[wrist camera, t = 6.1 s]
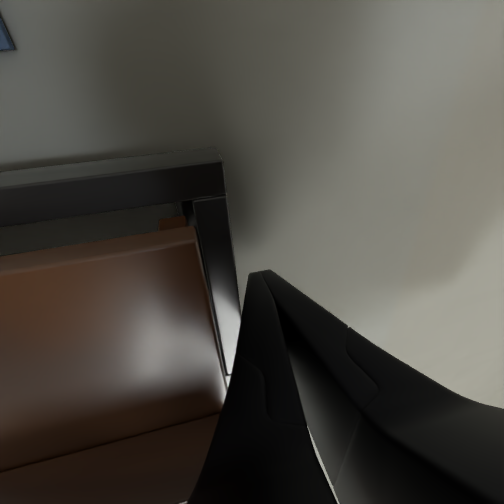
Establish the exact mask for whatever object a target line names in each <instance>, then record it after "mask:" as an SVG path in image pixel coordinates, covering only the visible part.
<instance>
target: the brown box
mask: <svg viewBox="0 0 504 504" xmlns="http://www.w3.org/2000/svg"><path fill="white" fill-rule="evenodd" d="M226 194H227V189H226V181H225V172H224V164H223V160H222V158H221V156H220V154H219V152H218V150H217V148H216V147H212V148H203V149H194V150H186V151H177V152H169V153H160V154H151V155H143V156H134V157H125V158H117V159H108V160H100V161H91V162H82V163H74V164H65V165H57V166H48V167H39V168H31V169H22V170H14V171H5V172H0V227H7V226H14V225H21V224H28V223H35V222H42V221H49V220H56V219H62V218H69V217H76V216H83V215H90V214H97V213H104V212H111V211H118V210H125V209H132V208H139V207H145V206H152V205H159V204H166V203H173V202H175V204H176V208H177V212H178V216H177V217H171V218H164V219H160V220H159V225H158V231H156V232H150V233H143V234H137V235H131V236H124V237H118V238H112V239H106V240H99V241H93V242H87V243H81V244H74V245H68V246H62V247H55V248H49V249H43V250H37V251H30V252H24V253H18V254H12V255H5V256H0V504H186V503H187V501H188V499H189V498H190V496H191V494H192V492H193V490H194V487H195V485H196V483H197V480H198V478H199V475H200V473H201V470H202V467H203V465H204V462H205V459H206V456H207V453H208V450H209V447H210V444H211V441H212V438H213V434H214V431H215V428H216V425H217V422H218V419H219V416H220V413H221V410H222V406H223V403H224V400H225V396H226V393H227V389H228V386H229V382H230V377H231V372H232V367H233V362H234V356H235V354H236V353H235V352H236V346H237V340H238V334H239V328H240V323H241V310H240V301H239V293H238V284H237V276H236V267H235V259H234V250H233V241H232V233H231V224H230V216H229V207H228V199H227V195H226Z"/></svg>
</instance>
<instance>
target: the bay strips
mask: <svg viewBox="0 0 504 504" xmlns="http://www.w3.org/2000/svg"><path fill="white" fill-rule="evenodd" d="M4 50H14V46H13V44H12V42H11V40H10V37H9V35H8V33H7V31H6V28H5V26H4V24H3V22H2V20H1V17H0V51H4Z"/></svg>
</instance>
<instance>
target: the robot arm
mask: <svg viewBox="0 0 504 504" xmlns="http://www.w3.org/2000/svg"><path fill="white" fill-rule="evenodd" d="M235 353H236V354H235V356H234V362H233V367H232V372H231V377H230V382H229V386H228V389H227V393H226V396H225V400H224V403H223V406H222V410H221V413H220V416H219V419H218V422H217V425H216V428H215V431H214V434H213V438H212V441H211V444H210V447H209V450H208V453H207V456H206V459H205V462H204V465H203V467H202V470H201V473H200V475H199V478H198V480H197V483H196V485H195V487H194V490H193V492H192V494H191V496H190V498H189V499H188V501H187V503H186V504H337V501H336V499H335V497H334V495H333V492H332V490H331V488H330V486H329V483H328V481H327V479H326V477H325V474H324V472H323V470H322V468H321V465H320V463H319V461H318V458H317V456H316V453H315V450H314V447H313V444H312V441H311V438H310V434H309V430H310V433H311V435H312V437H313V440H314V442H315V445H316V447H317V449H318V452H319V454H320V457H321V459H322V462H323V464H324V466H325V469H326V471H327V474H328V476H329V479H330V481H331V483H332V485H333V486H334V487H333V488H334V491H335V493H336V496H337V498H338V501H339V503H340V504H504V409H502V408H498V407H494V406H489V405H485V404H482V403H479V402H476V401H473V400H470V399H468V398H465V397H463V396H461V395H459V394H457V393H455V392H453V391H451V390H449V389H447V388H446V387H444V386H442V385H440V384H439V383H437V382H435V381H434V380H432V379H430V378H429V377H427V376H425V375H424V374H422V373H420V372H419V371H417V370H415V369H414V368H412V367H410V366H409V365H407V364H405V363H404V362H402V361H400V360H399V359H397V358H395V357H394V356H392V355H390V354H389V353H387V352H386V351H384V350H382V349H381V348H379V347H378V346H376V345H375V344H373V343H372V342H370V341H369V340H367V339H366V338H365V337H363V336H362V335H360V334H359V333H357V332H356V331H355V330H353V329H352V328H351V327H348V325H346V324H345V323H343V322H342V321H341V320H339V319H338V318H337V317H335V316H334V315H332V314H331V313H330V312H328V311H327V310H326V309H324V308H323V307H321V306H320V305H319V304H317V303H316V302H314V301H313V300H312V299H310V298H309V297H308V296H306V295H305V294H303V293H302V292H301V291H299V290H298V289H297V288H295V287H294V286H292V285H291V284H290V283H288V282H287V281H286V280H284V279H283V278H281V277H280V276H279V275H277V274H276V273H275V272H273V271H272V270H264V271H258V272H253V273H250V274H249V276H248V282H247V288H246V293H245V299H244V305H243V311H242V317H241V323H240V328H239V334H238V340H237V346H236V352H235ZM307 425H308V428H309V430H308V428H307Z"/></svg>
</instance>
